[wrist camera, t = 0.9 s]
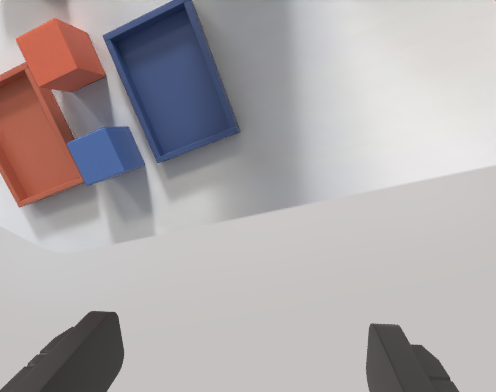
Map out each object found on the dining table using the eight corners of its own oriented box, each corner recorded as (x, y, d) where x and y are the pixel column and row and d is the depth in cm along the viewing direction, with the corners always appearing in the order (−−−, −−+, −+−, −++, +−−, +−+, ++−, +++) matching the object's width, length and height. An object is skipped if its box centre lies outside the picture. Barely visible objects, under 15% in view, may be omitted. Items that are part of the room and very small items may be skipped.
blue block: (94, 140, 33) (65, 143, 29) (128, 126, 32) (104, 126, 28) (111, 178, 34) (86, 186, 29) (145, 164, 33) (124, 171, 29)
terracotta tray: (-26, 97, 33) (-42, 95, 32) (38, 64, 32) (25, 61, 30) (30, 203, 36) (18, 207, 34) (93, 178, 34) (84, 181, 32)
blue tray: (111, 40, 30) (102, 35, 28) (192, 0, 28) (186, -7, 27) (163, 161, 33) (157, 163, 31) (240, 131, 31) (238, 132, 29)
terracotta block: (52, 50, 31) (14, 38, 27) (87, 32, 30) (54, 17, 26) (71, 92, 32) (38, 87, 28) (106, 76, 31) (77, 68, 27)
